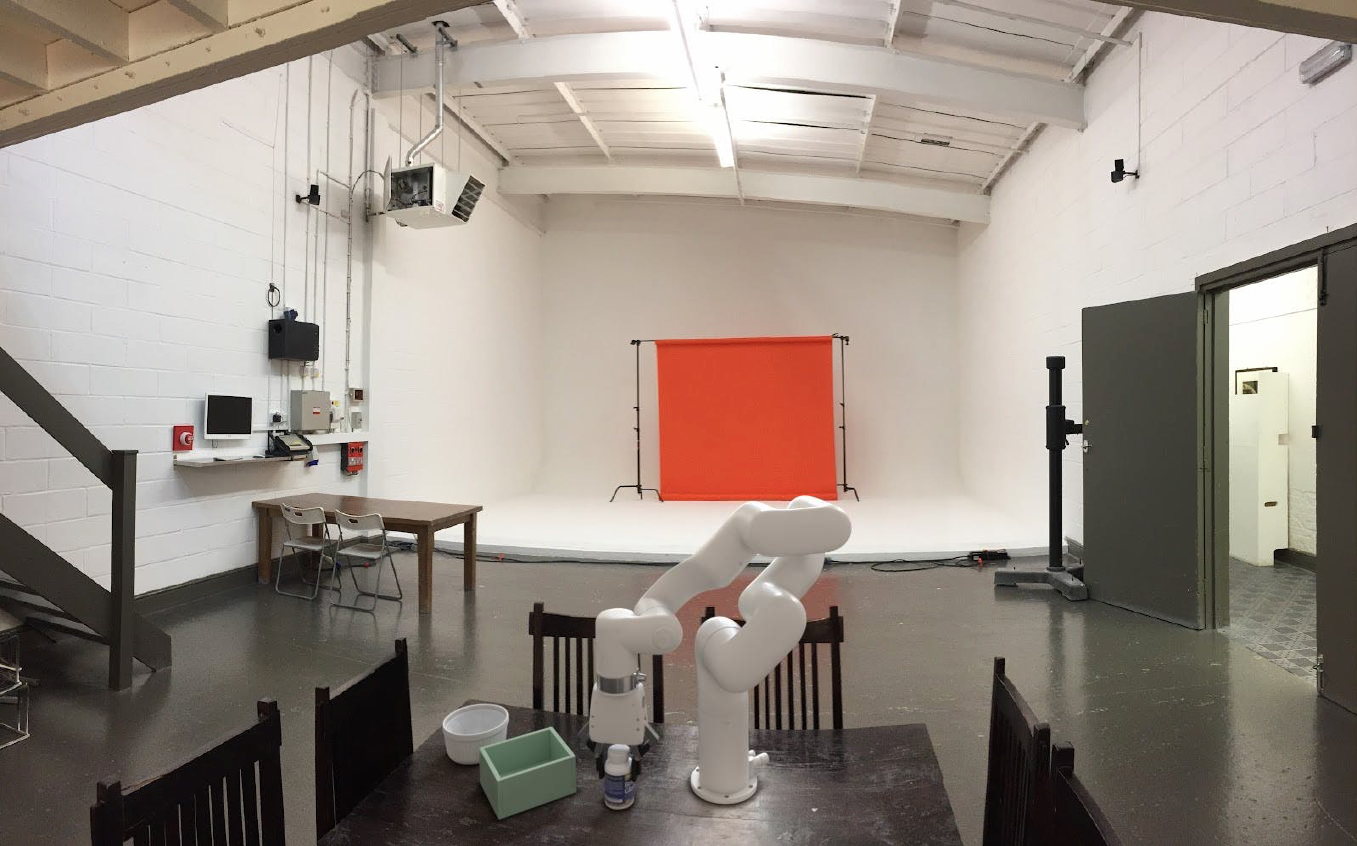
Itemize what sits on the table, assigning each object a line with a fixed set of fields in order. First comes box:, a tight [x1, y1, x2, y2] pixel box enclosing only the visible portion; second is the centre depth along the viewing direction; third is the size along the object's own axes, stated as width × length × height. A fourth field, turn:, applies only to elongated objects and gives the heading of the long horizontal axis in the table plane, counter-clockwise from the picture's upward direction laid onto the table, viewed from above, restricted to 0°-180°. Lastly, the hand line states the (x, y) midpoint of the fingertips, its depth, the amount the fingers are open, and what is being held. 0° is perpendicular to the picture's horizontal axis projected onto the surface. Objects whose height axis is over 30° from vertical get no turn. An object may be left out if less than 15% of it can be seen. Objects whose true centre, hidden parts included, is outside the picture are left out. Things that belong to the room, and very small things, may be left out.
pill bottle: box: [603, 744, 635, 810], centre depth 119 cm, size 5×5×10 cm
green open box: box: [479, 726, 577, 820], centre depth 123 cm, size 15×13×7 cm
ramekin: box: [441, 703, 510, 766], centre depth 136 cm, size 13×13×7 cm
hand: (619, 775), depth 119 cm, fingers closed on pill bottle, 5 cm apart
